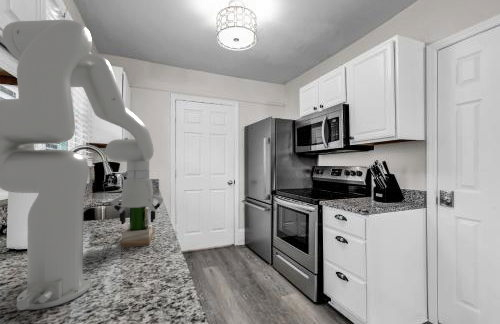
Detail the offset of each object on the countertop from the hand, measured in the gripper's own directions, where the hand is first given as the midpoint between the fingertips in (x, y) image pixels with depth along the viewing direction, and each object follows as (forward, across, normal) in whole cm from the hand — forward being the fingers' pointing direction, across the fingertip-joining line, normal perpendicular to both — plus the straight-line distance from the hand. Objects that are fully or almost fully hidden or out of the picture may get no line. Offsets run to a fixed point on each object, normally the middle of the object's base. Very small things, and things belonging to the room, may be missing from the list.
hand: (138, 222), depth 88 cm
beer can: (+5, 0, 0) cm, 5 cm away
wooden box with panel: (+7, 0, +3) cm, 8 cm away
